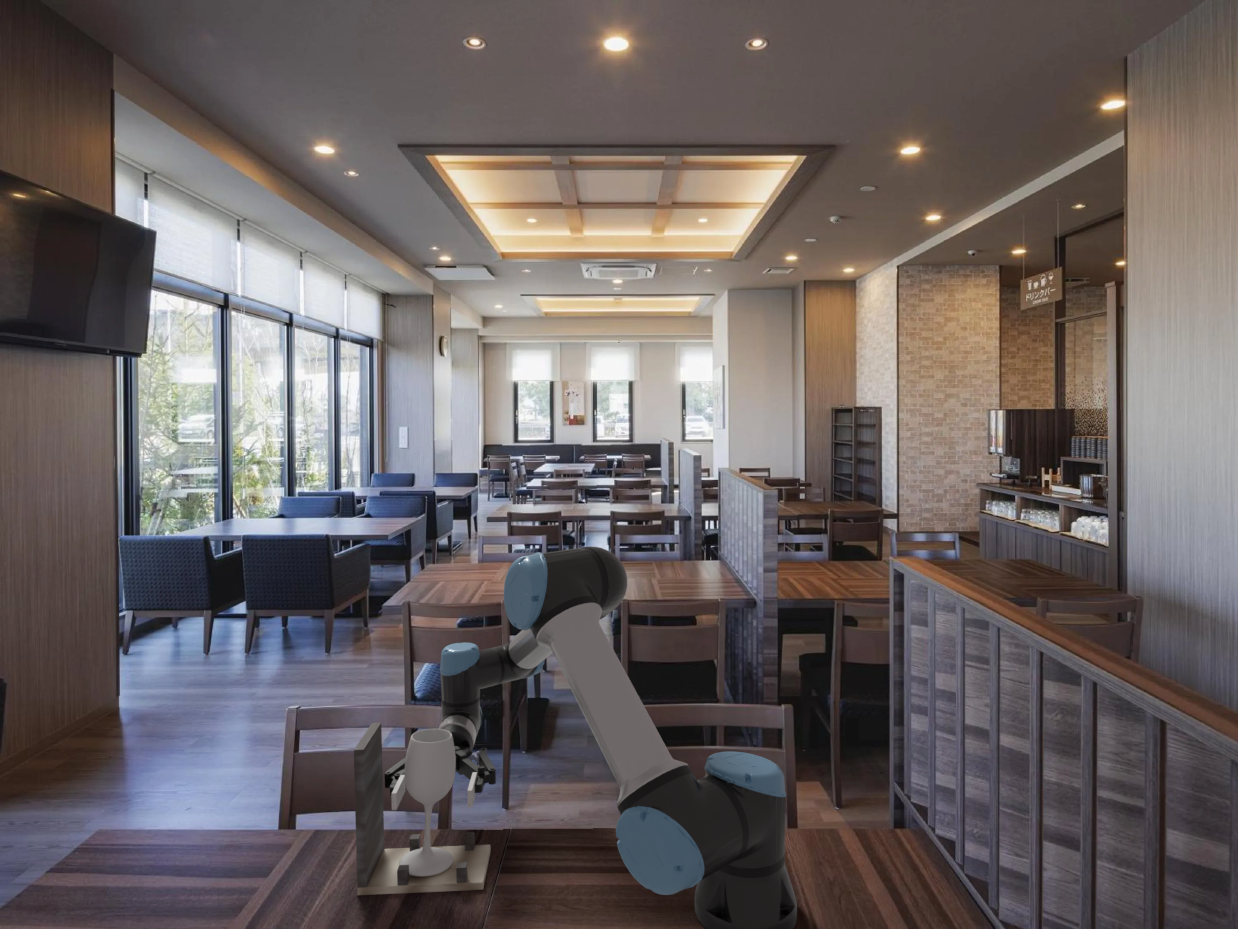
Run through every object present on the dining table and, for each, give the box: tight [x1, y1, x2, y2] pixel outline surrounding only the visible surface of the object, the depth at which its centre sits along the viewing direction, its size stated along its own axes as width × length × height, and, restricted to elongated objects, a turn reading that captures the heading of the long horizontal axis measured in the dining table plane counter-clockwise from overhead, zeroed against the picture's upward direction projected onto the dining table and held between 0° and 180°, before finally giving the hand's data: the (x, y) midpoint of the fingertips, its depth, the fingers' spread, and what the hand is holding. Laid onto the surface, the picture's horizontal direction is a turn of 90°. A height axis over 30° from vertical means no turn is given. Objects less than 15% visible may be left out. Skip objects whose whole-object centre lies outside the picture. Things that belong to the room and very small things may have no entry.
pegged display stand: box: [353, 721, 492, 896], centre depth 125 cm, size 20×11×23 cm, turn 93°
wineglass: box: [399, 728, 456, 876], centre depth 125 cm, size 9×9×21 cm
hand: (432, 800), depth 121 cm, fingers open, 11 cm apart
